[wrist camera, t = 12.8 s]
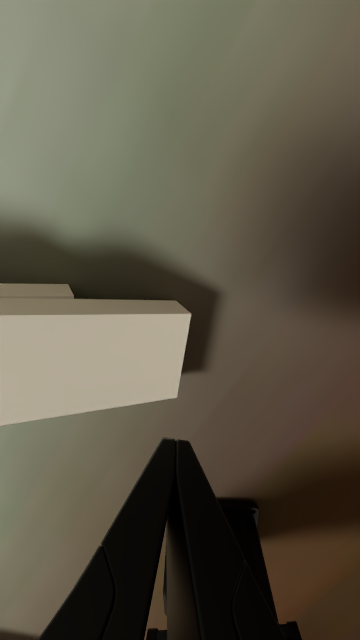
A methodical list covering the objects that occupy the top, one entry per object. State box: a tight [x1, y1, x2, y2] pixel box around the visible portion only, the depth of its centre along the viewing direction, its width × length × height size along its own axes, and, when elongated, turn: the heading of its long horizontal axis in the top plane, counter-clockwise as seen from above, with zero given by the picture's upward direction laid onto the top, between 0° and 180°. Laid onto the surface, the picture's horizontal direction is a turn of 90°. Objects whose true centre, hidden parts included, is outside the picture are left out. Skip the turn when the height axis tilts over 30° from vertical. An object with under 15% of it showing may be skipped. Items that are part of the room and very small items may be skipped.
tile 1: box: [0, 298, 191, 426], centre depth 12 cm, size 2×5×10 cm
